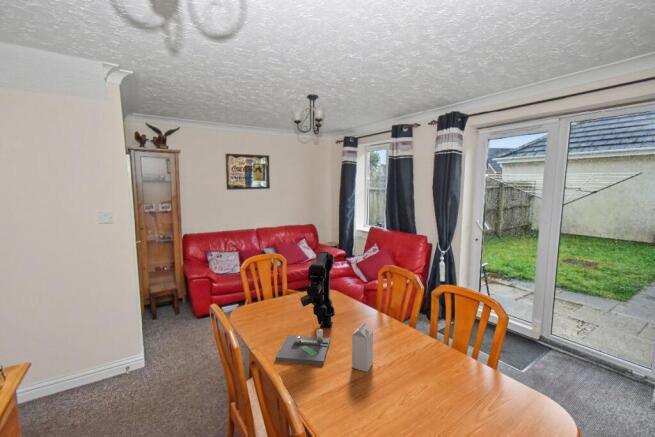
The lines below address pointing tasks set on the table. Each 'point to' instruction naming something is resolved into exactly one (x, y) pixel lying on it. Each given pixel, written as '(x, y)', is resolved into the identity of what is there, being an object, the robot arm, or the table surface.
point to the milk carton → (362, 348)
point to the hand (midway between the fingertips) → (318, 319)
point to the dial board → (303, 351)
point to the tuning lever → (319, 340)
